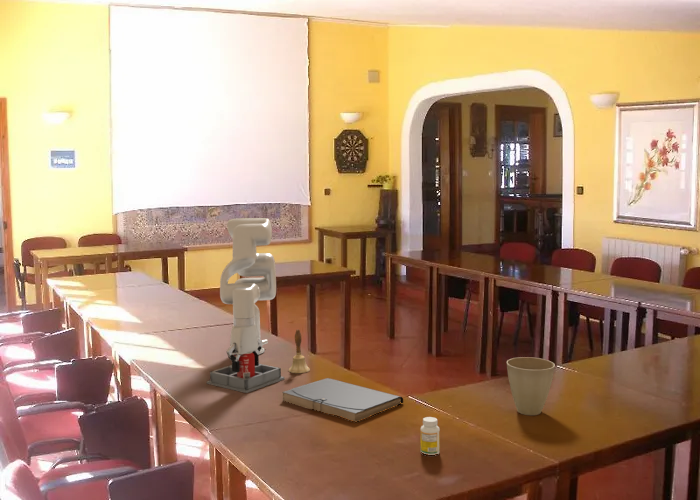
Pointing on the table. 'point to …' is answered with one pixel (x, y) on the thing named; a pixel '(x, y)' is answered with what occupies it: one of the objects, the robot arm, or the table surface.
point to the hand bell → (298, 357)
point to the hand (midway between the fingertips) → (245, 368)
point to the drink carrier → (231, 381)
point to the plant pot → (530, 383)
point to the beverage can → (246, 365)
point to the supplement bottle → (430, 436)
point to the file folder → (341, 399)
